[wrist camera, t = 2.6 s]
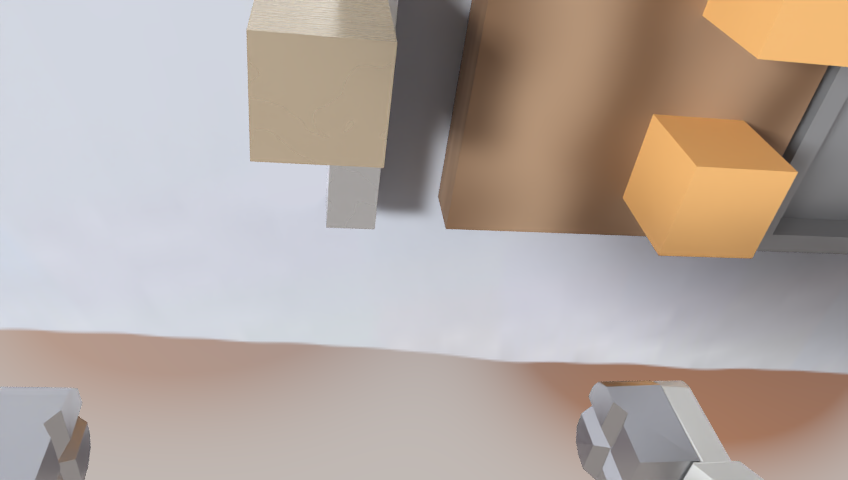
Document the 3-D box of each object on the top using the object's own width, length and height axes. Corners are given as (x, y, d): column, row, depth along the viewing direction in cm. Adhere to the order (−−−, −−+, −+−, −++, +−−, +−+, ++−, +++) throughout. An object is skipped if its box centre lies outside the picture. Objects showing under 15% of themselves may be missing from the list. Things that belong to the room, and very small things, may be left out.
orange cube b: (743, 120, 28) (798, 172, 24) (706, 201, 30) (751, 258, 27) (653, 114, 27) (696, 166, 24) (622, 197, 29) (658, 255, 26)
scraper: (411, -237, 21) (447, -218, 15) (370, 190, 31) (382, 311, 24) (265, -259, 21) (238, -250, 14) (269, 185, 30) (254, 309, 24)
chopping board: (888, -161, 24) (938, -150, 22) (715, 209, 34) (739, 239, 32) (509, -220, 22) (528, -214, 20) (438, 196, 31) (446, 228, 29)
